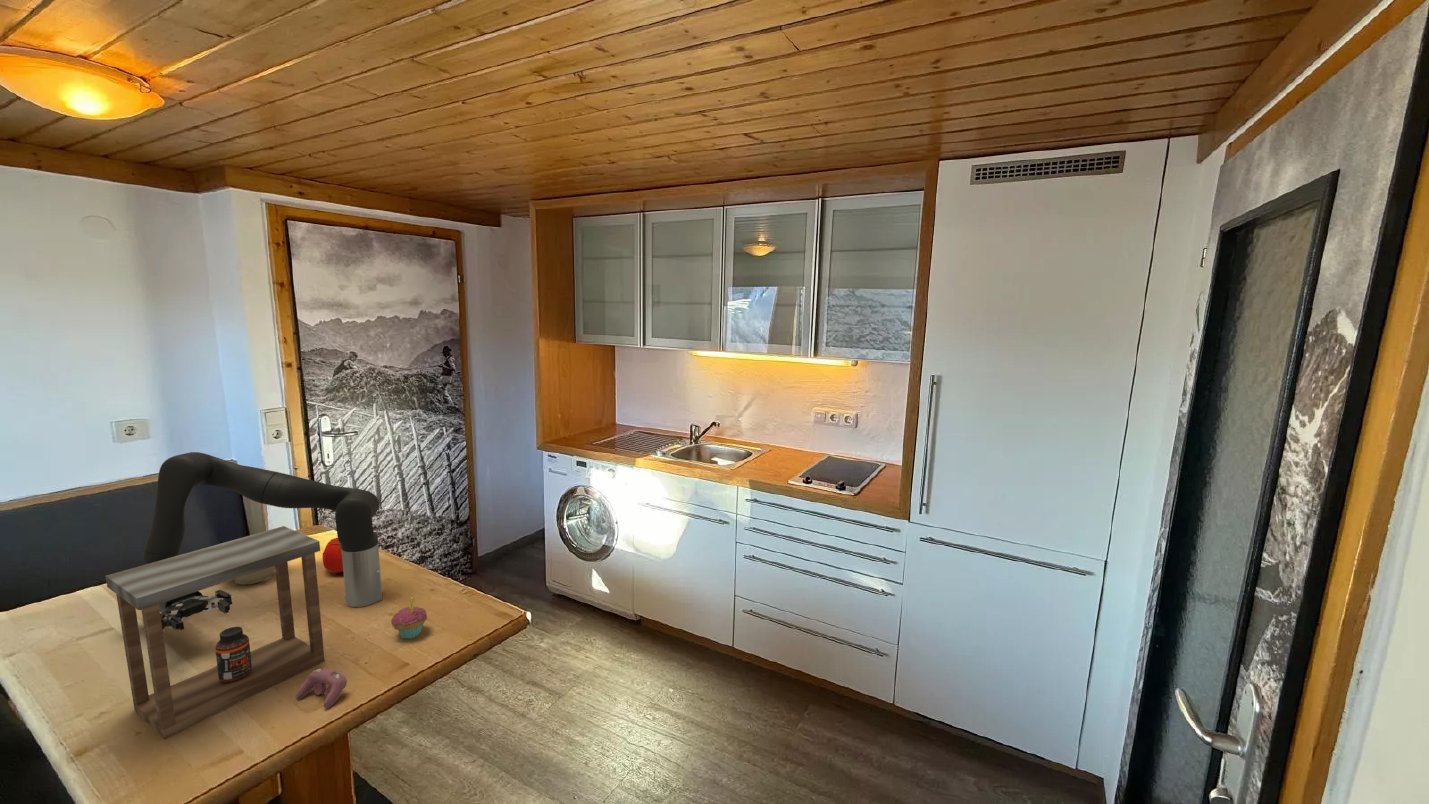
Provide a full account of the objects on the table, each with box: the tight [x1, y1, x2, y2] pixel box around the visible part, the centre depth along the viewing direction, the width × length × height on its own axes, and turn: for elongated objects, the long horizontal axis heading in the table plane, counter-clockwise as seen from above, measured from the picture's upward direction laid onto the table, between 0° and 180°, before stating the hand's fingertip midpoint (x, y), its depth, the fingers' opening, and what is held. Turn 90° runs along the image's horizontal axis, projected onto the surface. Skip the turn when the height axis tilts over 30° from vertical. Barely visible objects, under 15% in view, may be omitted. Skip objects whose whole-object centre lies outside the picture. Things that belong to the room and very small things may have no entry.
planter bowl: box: [234, 566, 275, 585], centre depth 179 cm, size 16×16×11 cm
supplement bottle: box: [214, 626, 252, 683], centre depth 130 cm, size 6×6×11 cm
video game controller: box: [295, 667, 348, 709], centre depth 128 cm, size 10×5×7 cm, turn 73°
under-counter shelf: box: [105, 525, 326, 740], centre depth 128 cm, size 17×32×32 cm, turn 151°
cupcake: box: [390, 594, 428, 639], centre depth 152 cm, size 9×8×12 cm
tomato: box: [322, 537, 343, 574], centre depth 187 cm, size 14×13×10 cm
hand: (205, 617), depth 135 cm, fingers open, 8 cm apart
